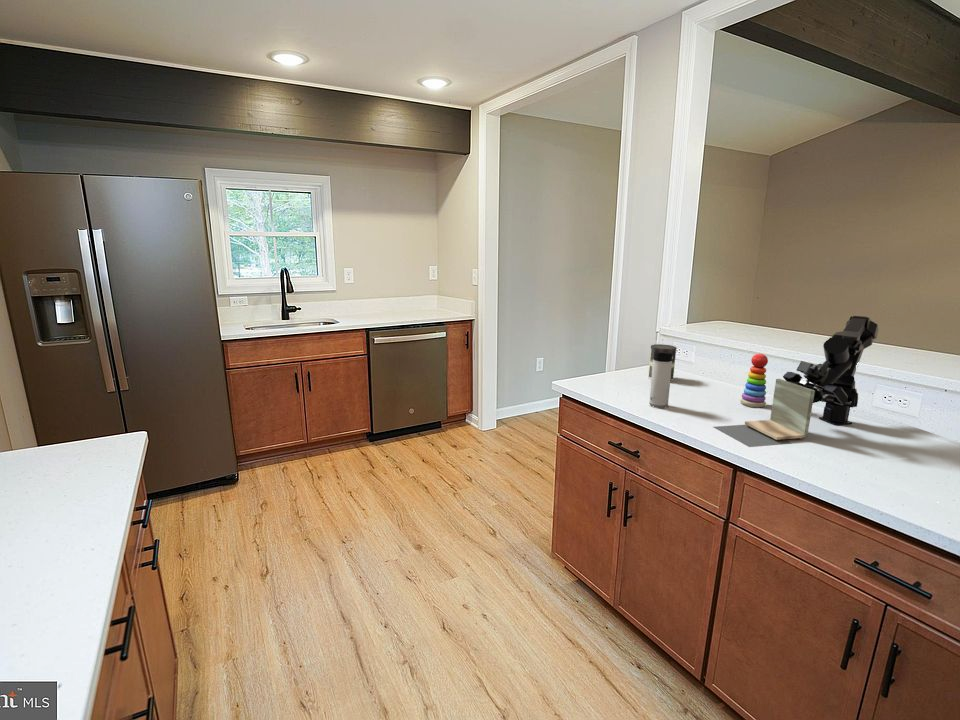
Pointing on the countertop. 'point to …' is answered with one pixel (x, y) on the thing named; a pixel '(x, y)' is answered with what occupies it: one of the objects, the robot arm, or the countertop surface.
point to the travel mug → (660, 379)
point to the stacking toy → (756, 383)
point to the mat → (749, 436)
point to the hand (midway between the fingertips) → (793, 407)
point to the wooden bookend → (787, 412)
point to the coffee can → (662, 349)
